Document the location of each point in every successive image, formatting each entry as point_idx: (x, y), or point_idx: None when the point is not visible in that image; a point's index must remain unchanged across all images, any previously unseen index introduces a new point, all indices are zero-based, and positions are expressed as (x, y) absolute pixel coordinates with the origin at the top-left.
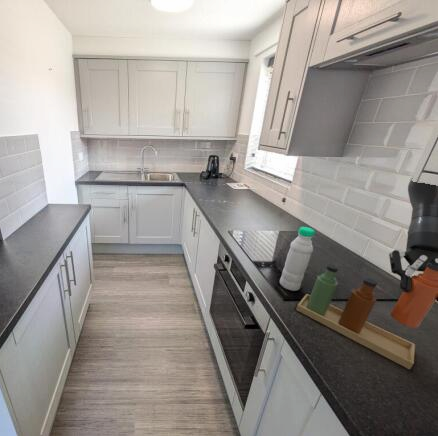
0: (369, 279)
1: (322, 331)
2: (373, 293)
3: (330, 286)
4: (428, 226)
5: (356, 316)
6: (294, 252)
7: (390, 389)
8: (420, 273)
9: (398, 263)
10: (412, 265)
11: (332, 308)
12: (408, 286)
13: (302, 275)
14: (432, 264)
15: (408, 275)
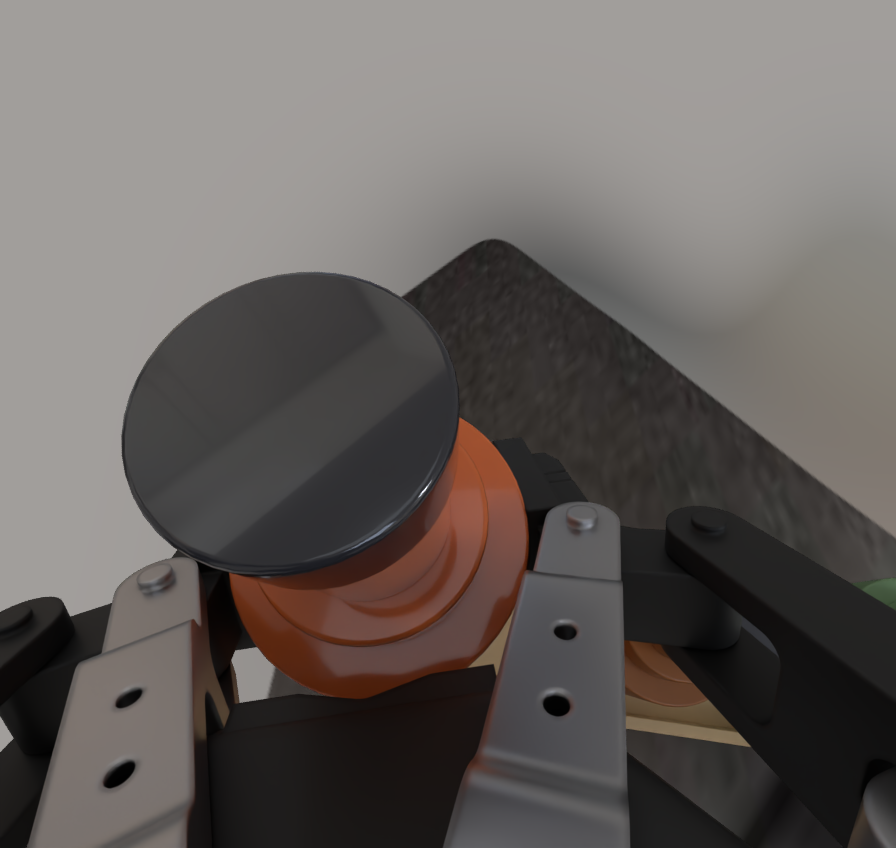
0: (759, 638)
1: (654, 509)
2: (631, 642)
3: (858, 586)
4: None
5: None
6: None
7: None
8: (457, 594)
9: (799, 591)
10: (618, 595)
11: (685, 723)
12: (519, 447)
13: None
14: (405, 312)
15: (569, 508)
